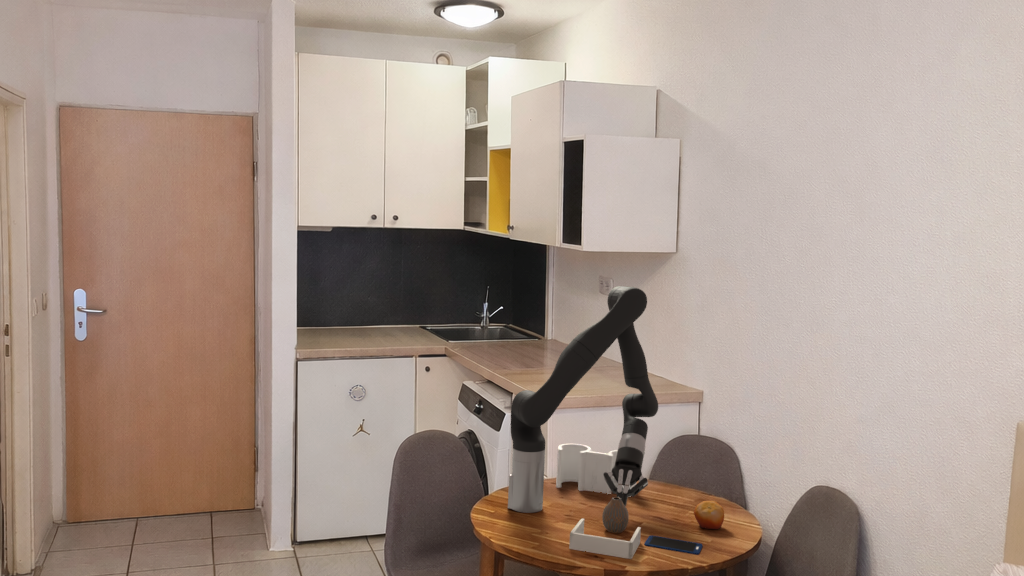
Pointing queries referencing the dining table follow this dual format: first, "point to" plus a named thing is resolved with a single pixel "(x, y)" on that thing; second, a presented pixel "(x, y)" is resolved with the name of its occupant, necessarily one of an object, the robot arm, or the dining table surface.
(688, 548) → the cell phone
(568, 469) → the bracket
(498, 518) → the dining table surface
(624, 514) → the vase
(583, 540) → the frame
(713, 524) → the fruit
